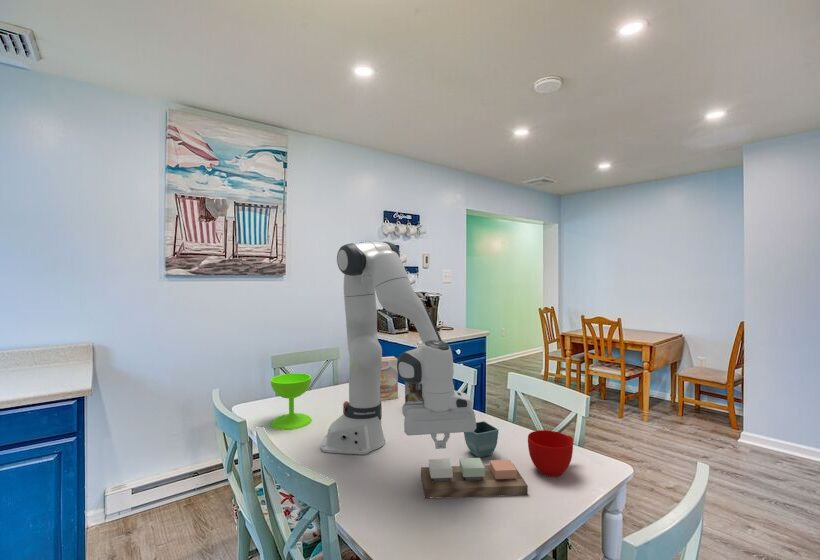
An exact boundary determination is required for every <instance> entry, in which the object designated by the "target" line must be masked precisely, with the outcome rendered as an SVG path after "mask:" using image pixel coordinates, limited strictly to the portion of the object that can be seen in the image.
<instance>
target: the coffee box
mask: <svg viewBox="0 0 820 560" xmlns="http://www.w3.org/2000/svg"><path fill="white" fill-rule="evenodd" d="M417 400H423V385H422V384H421V383H417V384H409V383H406V382H404V402H405V403H406V402H407V401H417ZM405 403H404V404H405ZM406 405H408V404H406Z"/></svg>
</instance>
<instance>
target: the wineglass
mask: <svg viewBox="0 0 820 560" xmlns="http://www.w3.org/2000/svg"><path fill="white" fill-rule="evenodd" d="M311 382H312V375H310V374H308V373H303V372H302V373H300V372H297V373H291V372H290V373H285V374H280V375H278V374H277V375H275V376H273V377H271V378H270V386H271V388H272V390H273V392H274V393H275V394H276V395H277V396H279V397H281V398H283V399H288V410H289V411H288V413H287V414H283V415H280V416H277V417H276V418H273V420H272V421H271V422H270V426H271V428H273V429H275V430H283V431H289V430H297V429H301V428H305V427H307V426H309V425H310V424H311V423H312V422H313V421H312V420H313V419H312V417H311V416H310V415H308V414H305V413H297V412H296V413H295V399H296V398H299V397H301V396H302V395H304V394H305V393H306V392H307V390H308V389H309V387H310V385H311Z"/></svg>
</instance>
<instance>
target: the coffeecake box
mask: <svg viewBox="0 0 820 560" xmlns="http://www.w3.org/2000/svg"><path fill="white" fill-rule="evenodd" d="M397 361H398V357H395V356H393V355H392V356H382V364H381V377H380V402H382V401H389V400H398V399H399V398H398V397H399V394H398V393H399V386H398V385H399V374H398V371H397Z"/></svg>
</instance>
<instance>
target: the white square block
mask: <svg viewBox="0 0 820 560" xmlns="http://www.w3.org/2000/svg"><path fill="white" fill-rule="evenodd" d="M452 466H453V465H452V463H451V460H450V458H438V459H437V458H436V459H435V458H434V459H428V467H429V471H430V476H431V478H432V481H433V482H448V481H449V478H453V469H452Z"/></svg>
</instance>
